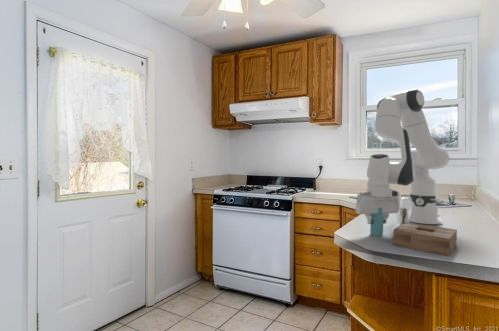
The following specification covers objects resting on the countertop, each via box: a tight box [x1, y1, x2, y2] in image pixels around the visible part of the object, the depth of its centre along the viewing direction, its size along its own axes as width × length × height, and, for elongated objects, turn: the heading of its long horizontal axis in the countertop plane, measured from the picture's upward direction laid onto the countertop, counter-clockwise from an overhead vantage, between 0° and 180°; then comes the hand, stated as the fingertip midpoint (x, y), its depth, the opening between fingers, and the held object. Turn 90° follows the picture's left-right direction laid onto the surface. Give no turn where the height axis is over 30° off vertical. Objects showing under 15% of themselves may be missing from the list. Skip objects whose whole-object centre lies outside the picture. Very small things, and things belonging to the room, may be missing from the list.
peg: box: [369, 208, 384, 237], centre depth 131 cm, size 4×4×12 cm
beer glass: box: [394, 196, 412, 229], centre depth 140 cm, size 7×7×15 cm
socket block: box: [392, 222, 458, 257], centre depth 116 cm, size 18×18×6 cm
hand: (376, 223), depth 131 cm, fingers closed on peg, 5 cm apart
